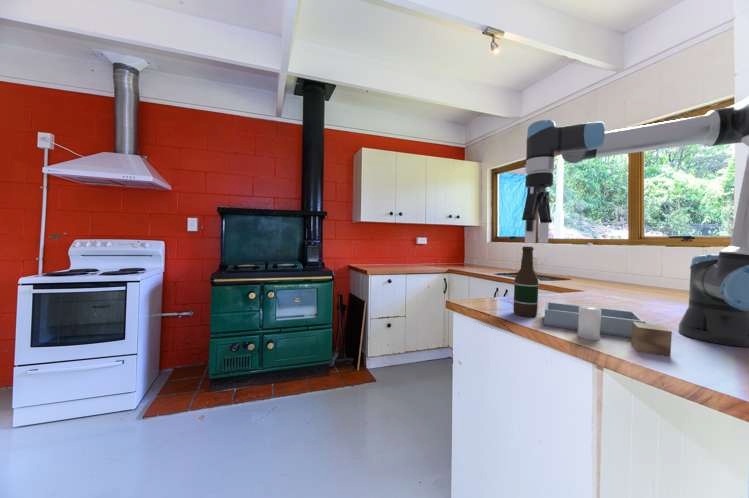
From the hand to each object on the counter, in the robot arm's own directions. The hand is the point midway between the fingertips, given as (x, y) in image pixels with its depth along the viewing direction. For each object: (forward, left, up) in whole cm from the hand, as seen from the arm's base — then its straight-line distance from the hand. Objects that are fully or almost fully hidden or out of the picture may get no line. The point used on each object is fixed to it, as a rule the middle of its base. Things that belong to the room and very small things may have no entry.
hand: (536, 243), depth 94 cm
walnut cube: (-26, +9, -26) cm, 37 cm away
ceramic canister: (-14, +6, -25) cm, 29 cm away
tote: (-15, -7, -25) cm, 30 cm away
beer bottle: (+3, -12, -26) cm, 28 cm away
